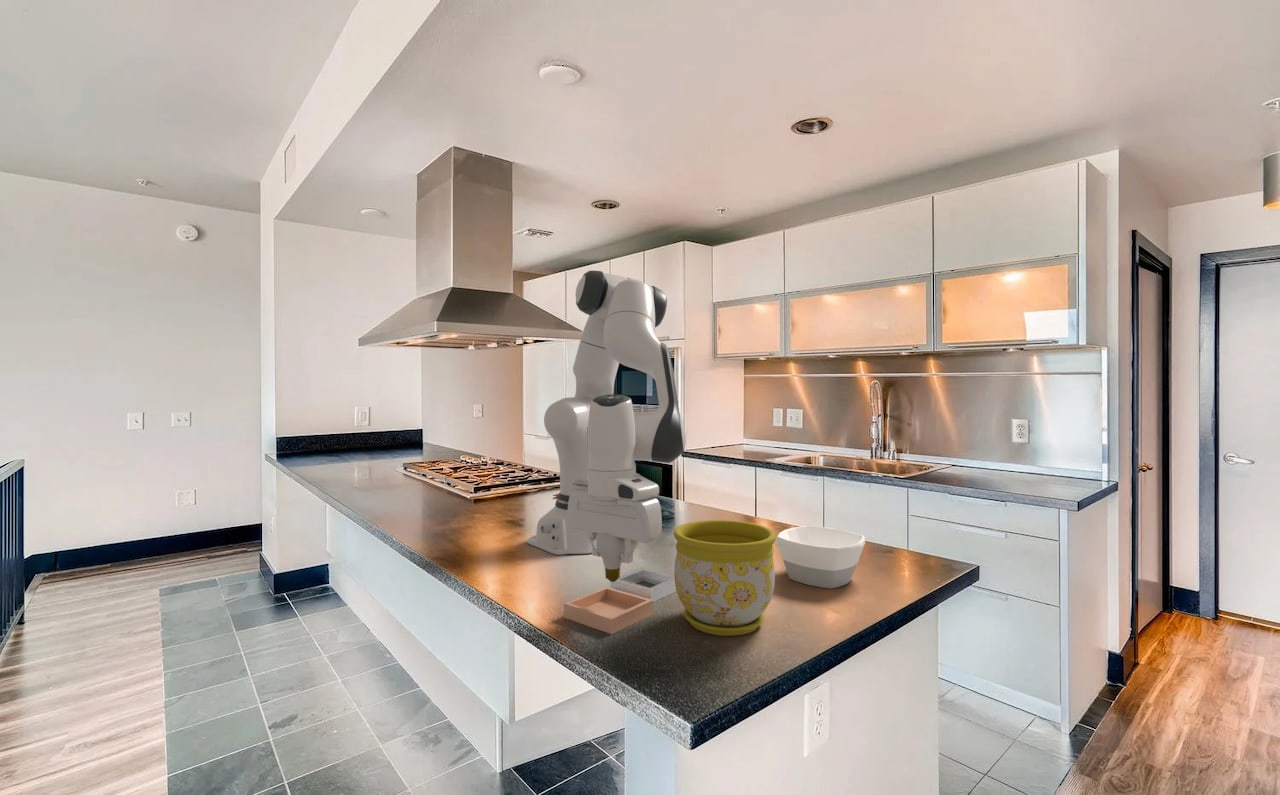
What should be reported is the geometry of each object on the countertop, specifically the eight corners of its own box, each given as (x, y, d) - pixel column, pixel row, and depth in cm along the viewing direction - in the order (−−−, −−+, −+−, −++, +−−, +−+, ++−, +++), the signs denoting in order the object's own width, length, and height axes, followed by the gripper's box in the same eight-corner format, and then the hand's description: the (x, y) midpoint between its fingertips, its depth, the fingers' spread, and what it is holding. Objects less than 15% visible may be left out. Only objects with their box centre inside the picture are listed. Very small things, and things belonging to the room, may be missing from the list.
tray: (563, 617, 110) (563, 603, 110) (606, 599, 119) (606, 586, 119) (611, 634, 103) (611, 619, 103) (653, 614, 112) (653, 600, 112)
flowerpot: (704, 651, 97) (705, 549, 96) (657, 611, 113) (657, 524, 113) (796, 632, 104) (797, 538, 103) (738, 598, 120) (739, 516, 120)
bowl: (763, 579, 132) (763, 536, 132) (802, 561, 145) (803, 522, 145) (841, 599, 120) (841, 552, 120) (876, 578, 133) (877, 535, 133)
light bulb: (613, 574, 115) (613, 522, 115) (635, 581, 111) (635, 527, 111) (590, 581, 111) (589, 527, 111) (611, 589, 107) (611, 533, 106)
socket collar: (610, 591, 124) (610, 579, 124) (642, 578, 132) (642, 567, 132) (650, 603, 117) (650, 591, 117) (681, 588, 125) (681, 577, 125)
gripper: (559, 480, 114) (559, 553, 115) (645, 492, 102) (645, 573, 102) (582, 476, 119) (582, 545, 120) (666, 486, 107) (667, 564, 107)
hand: (612, 558), depth 111 cm, fingers closed on light bulb, 5 cm apart
